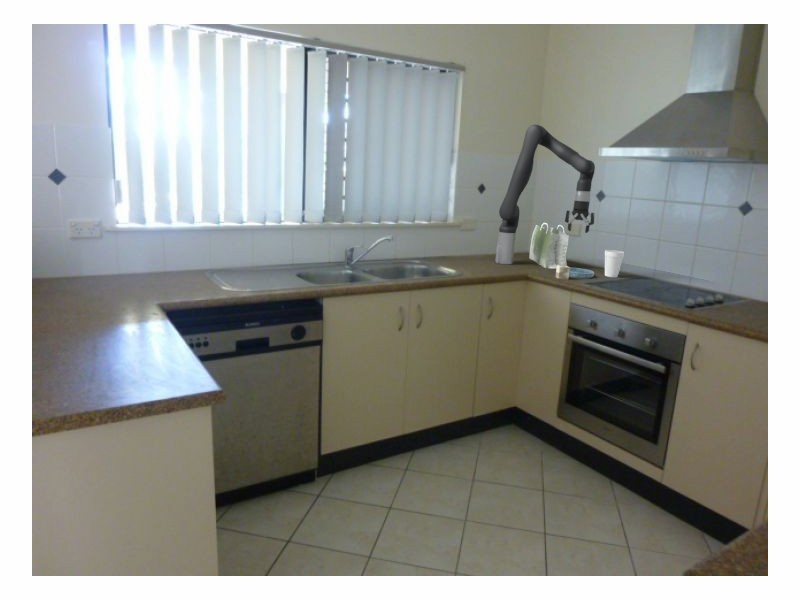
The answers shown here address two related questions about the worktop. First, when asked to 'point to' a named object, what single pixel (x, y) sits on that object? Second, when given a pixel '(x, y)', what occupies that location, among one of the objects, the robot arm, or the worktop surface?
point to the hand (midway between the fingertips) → (577, 231)
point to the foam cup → (613, 262)
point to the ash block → (562, 272)
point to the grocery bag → (549, 246)
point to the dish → (580, 273)
